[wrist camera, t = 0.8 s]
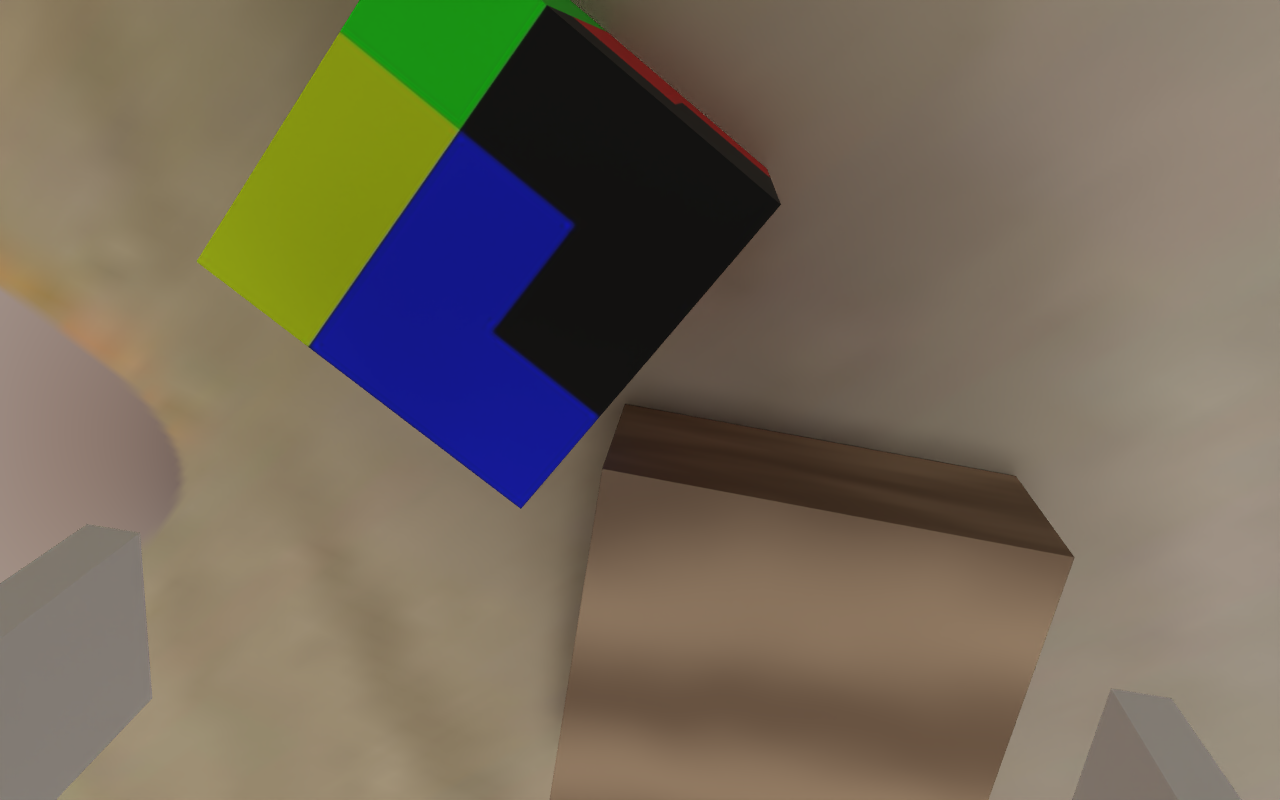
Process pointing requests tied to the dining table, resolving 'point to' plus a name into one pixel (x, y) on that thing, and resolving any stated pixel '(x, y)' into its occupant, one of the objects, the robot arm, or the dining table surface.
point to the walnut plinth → (800, 620)
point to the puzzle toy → (488, 222)
